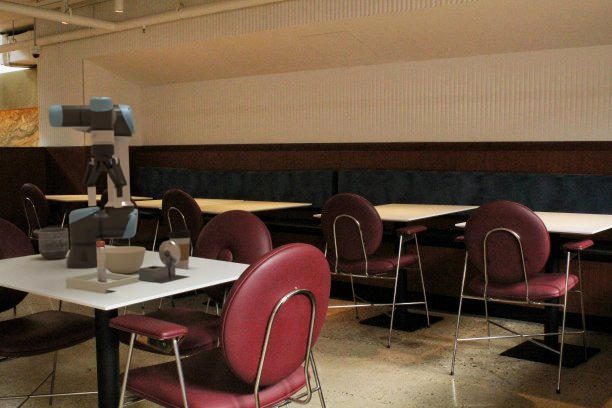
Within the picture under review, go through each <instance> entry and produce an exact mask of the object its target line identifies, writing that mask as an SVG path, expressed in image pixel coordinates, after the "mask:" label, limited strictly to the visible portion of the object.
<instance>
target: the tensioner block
mask: <svg viewBox="0 0 612 408" xmlns="http://www.w3.org/2000/svg"><path fill="white" fill-rule="evenodd" d="M158 258H159V259H160V261H161V263H162V264H163V266H162V265H161V266H160V265H149V266H144V267H140V268H139V269H138V276H137V277H138V280H139V281H140V282H147V283H152V284H153V283H155V284H161V285H162V284H167V283H171V282H175V281H179V280H184V279H188V278H190V276H187V275H180V274H176V268H175V265H176V264H178V263H179V261H180V259H181V250H180V247H179V245H178V244H177V243H176V242H175V241H173V240H170V239H169V240H165V241H163V242H162V243H161V244H160V245H159V249H158Z"/></svg>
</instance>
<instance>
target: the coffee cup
mask: <svg viewBox="0 0 612 408" xmlns="http://www.w3.org/2000/svg"><path fill="white" fill-rule="evenodd" d="M191 236H192V235H191V232H190V230H189V229H185V230H173V231H169V233H168V239H169V240H173V241H175V242H176V243H177V244H178V245H179V247H180V250H181V259H180V261H179V263H178V264H176V265H175V269H180V270H188V269H189V263H190V260H189V259H190V248H191V247H190V245H191V242H190V241H191V240H190V238H191Z"/></svg>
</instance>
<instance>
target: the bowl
mask: <svg viewBox="0 0 612 408" xmlns="http://www.w3.org/2000/svg"><path fill="white" fill-rule="evenodd" d="M145 255H146V247H144V246H135V245H133V246H131V245H130V246H128V245H127V246H114V247H108V248H106V247H105V256H106V271H108V272H109V273H115V274H122V275H129V274H130V275H131V274H134V273H136V272H138V271H139V268H142V265H143V263H144V259H145Z"/></svg>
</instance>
